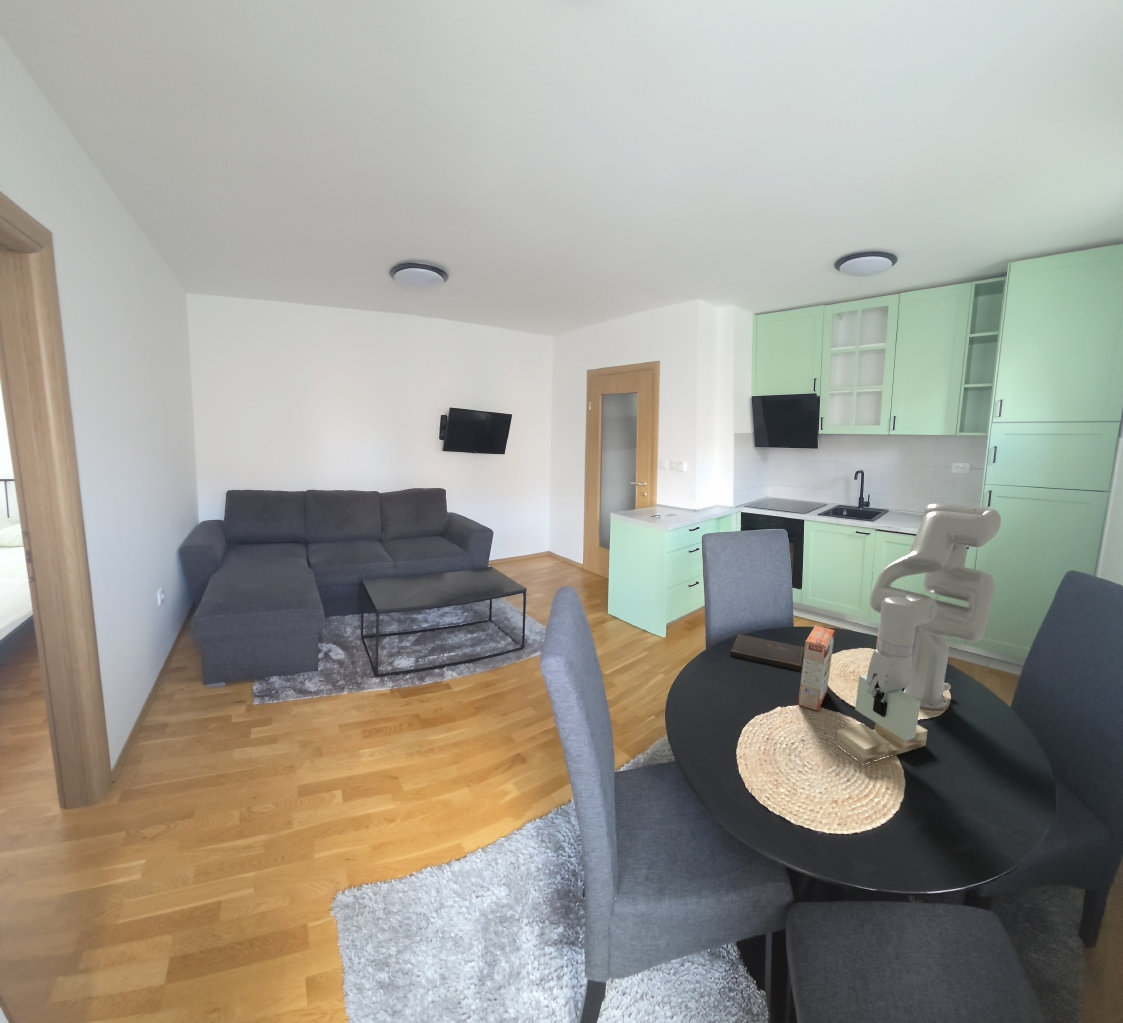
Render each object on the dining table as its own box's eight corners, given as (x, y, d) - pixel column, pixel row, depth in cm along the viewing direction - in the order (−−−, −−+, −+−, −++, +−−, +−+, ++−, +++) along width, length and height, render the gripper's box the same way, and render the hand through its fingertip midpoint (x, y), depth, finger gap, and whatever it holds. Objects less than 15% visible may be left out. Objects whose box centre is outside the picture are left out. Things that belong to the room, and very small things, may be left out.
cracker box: (819, 712, 146) (826, 646, 142) (797, 705, 150) (803, 640, 145) (828, 691, 157) (835, 629, 153) (808, 685, 160) (814, 624, 156)
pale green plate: (864, 707, 137) (869, 673, 135) (915, 737, 124) (920, 701, 122) (855, 709, 136) (859, 675, 134) (904, 740, 123) (910, 704, 121)
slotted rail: (896, 727, 139) (898, 713, 138) (925, 745, 131) (927, 730, 131) (835, 745, 132) (837, 730, 131) (862, 765, 124) (864, 749, 123)
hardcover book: (737, 639, 194) (737, 634, 193) (803, 652, 183) (803, 647, 183) (730, 657, 180) (730, 651, 180) (800, 672, 169) (801, 666, 169)
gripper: (903, 635, 132) (894, 698, 136) (856, 645, 127) (848, 710, 130) (932, 647, 125) (922, 714, 129) (883, 658, 120) (874, 727, 123)
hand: (885, 711), depth 130 cm, fingers closed on pale green plate, 3 cm apart
